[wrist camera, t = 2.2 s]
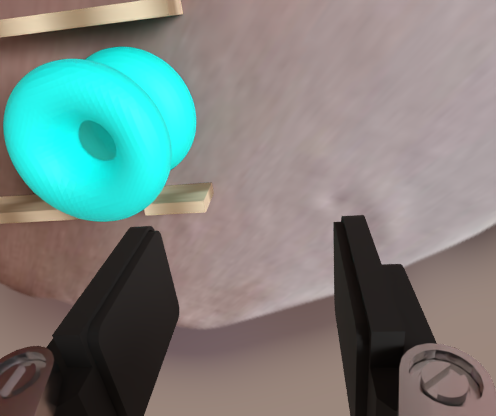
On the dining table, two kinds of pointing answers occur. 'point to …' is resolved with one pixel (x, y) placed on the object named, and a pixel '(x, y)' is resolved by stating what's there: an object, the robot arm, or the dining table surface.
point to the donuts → (99, 131)
